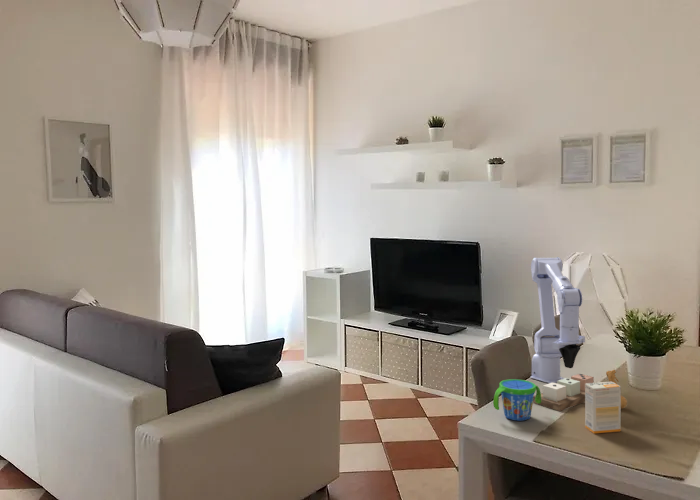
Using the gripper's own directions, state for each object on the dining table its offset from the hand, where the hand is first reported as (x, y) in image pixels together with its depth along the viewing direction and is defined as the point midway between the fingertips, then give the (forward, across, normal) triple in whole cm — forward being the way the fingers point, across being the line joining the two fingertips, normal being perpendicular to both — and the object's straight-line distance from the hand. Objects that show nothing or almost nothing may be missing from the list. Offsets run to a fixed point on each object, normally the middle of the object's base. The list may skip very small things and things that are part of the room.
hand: (568, 367), depth 188 cm
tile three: (+9, +8, 0) cm, 11 cm away
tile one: (+9, -8, 0) cm, 11 cm away
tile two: (+9, 0, 0) cm, 9 cm away
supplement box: (+11, -15, -21) cm, 28 cm away
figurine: (+11, +4, -14) cm, 18 cm away
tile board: (+10, 0, 0) cm, 10 cm away
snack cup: (+11, -26, 0) cm, 28 cm away
